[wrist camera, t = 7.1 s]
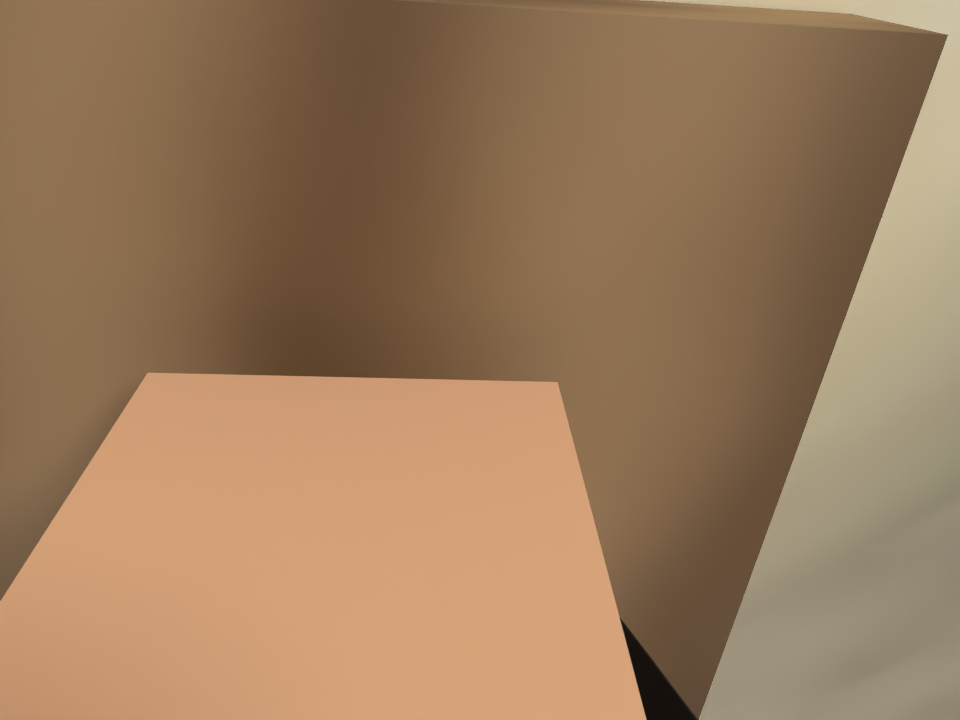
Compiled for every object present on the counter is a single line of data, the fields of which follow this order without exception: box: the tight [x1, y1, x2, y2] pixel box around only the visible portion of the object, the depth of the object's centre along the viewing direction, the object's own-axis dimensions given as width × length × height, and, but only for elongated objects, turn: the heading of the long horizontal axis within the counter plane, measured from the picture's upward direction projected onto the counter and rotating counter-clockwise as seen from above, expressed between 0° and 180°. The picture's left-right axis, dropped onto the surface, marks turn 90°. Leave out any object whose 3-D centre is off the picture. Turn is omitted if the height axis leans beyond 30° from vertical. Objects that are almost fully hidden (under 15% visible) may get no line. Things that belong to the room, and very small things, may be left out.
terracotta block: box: [0, 373, 646, 720], centre depth 7 cm, size 4×4×5 cm
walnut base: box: [0, 0, 948, 719], centre depth 11 cm, size 12×12×2 cm
